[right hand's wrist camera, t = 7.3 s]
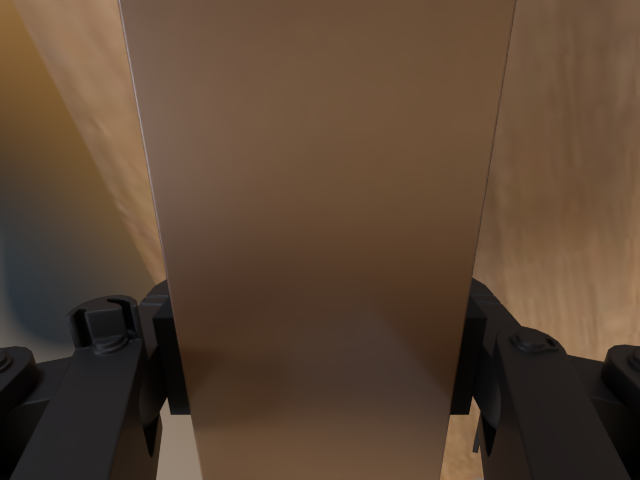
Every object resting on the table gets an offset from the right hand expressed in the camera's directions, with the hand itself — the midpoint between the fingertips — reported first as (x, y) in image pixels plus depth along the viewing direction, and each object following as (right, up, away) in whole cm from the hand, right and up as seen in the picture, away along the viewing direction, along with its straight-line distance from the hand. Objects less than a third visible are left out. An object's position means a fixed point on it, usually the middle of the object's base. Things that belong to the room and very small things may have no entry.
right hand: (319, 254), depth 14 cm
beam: (0, +24, -9) cm, 25 cm away
